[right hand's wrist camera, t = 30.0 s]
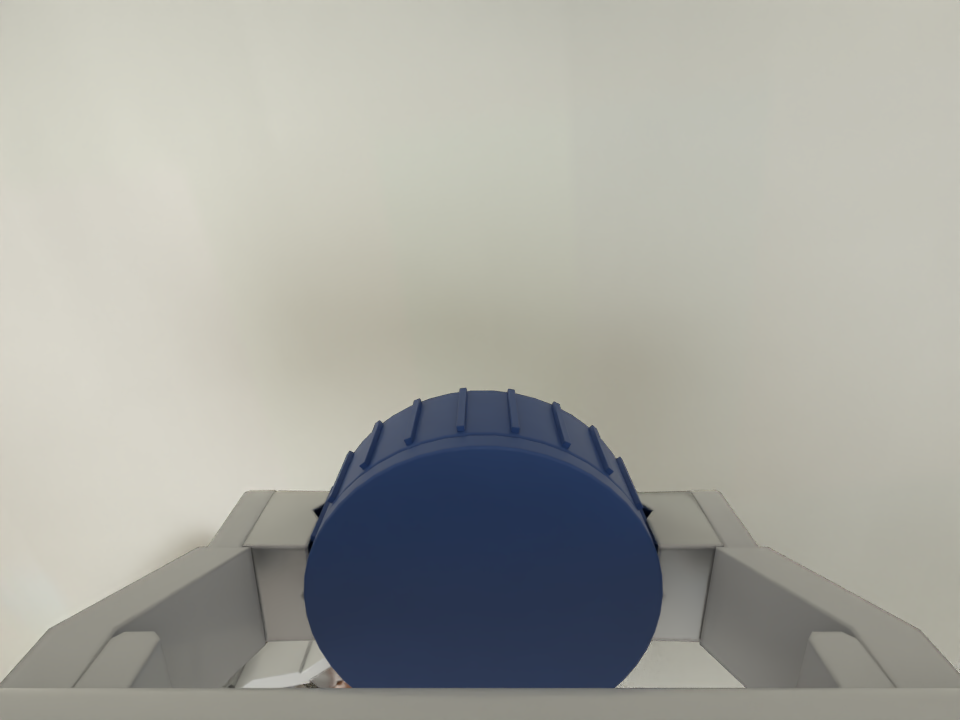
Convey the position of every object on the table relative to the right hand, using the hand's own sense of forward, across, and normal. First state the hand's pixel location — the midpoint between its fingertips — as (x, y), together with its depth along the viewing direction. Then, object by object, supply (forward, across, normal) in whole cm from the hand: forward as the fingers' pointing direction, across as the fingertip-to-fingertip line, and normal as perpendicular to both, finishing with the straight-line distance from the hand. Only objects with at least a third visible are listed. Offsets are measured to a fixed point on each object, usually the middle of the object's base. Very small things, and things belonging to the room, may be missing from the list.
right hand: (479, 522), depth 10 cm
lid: (-2, 0, 0) cm, 2 cm away
